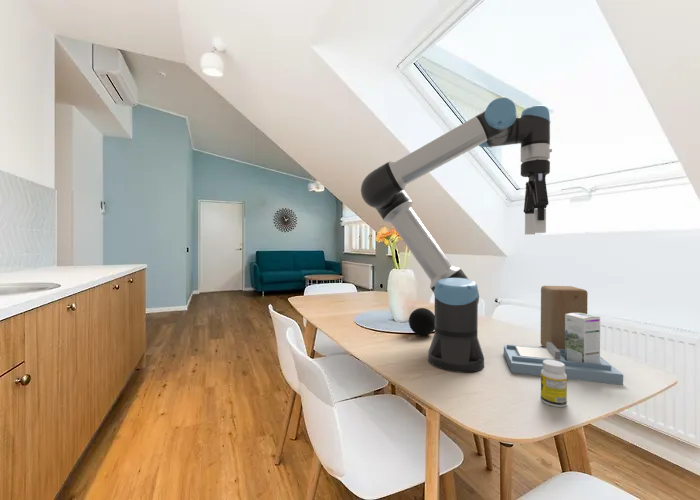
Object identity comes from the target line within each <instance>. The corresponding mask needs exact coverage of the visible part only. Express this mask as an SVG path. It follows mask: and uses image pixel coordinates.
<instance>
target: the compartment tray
mask: <svg viewBox="0 0 700 500" xmlns="http://www.w3.org/2000/svg"><path fill="white" fill-rule="evenodd" d="M515 346H521V347H532V348H543V349H546V348H545V347H543V346H542V347H539V346H529V345H518V344H509V343H508V344H506V345H503V355H504V357H505V360H506V362H507V365H508V367H509V369H510V373H514V374H521V375H532V376H538V377H539V376H540V377H541V370H542V369H543V361H544V360H554V359H543V358H533V357H523V356H519V355H518V353H517V352H516V350H515ZM558 350H559V351H560V352H561V353H560V359H561V360H555V361H559V362H562V363H564V364H565V372H564V373H565V374H566V375H567V380H575V381H576V380H577V381H585V382H595V383H600V384H601V383H603V384H610V385H611V384H612V385H621V386H623V385H624V373H622V372H621V371H620V370H618V369H616V367H614V366H613V365H612V364H611V363H610V362H608V361H607V360H605V358H603V357H601V356H600V364H595V363H585V362H574V361H566V360H565V349H558Z"/></svg>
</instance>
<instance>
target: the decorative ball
mask: <svg viewBox="0 0 700 500" xmlns="http://www.w3.org/2000/svg"><path fill="white" fill-rule="evenodd" d="M408 325H409V328H410V329H411V331H413V333H414V334H416V335H418V336H428V335H431V334H432V333H433V332H435V313H434V312H432V311H431V310H430V309H428V308H424V307H419V308H416V309H414V310H413V311H412V312H411V313H410V315H409V318H408Z"/></svg>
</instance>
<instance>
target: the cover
mask: <svg viewBox="0 0 700 500" xmlns="http://www.w3.org/2000/svg"><path fill="white" fill-rule="evenodd" d="M521 346H522V345H519V346H515V350H516V352H517V353H518V355H519V356H523V357H533V358H543V359H554V360H561V359H560V353H561V352H560V351H559V350H558V349H557V348H556V347H555V346H554V345H553V344H552V342H547V344H546V349H543V348H544V347H542V348H532V347H533V346H531V347H521Z"/></svg>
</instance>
